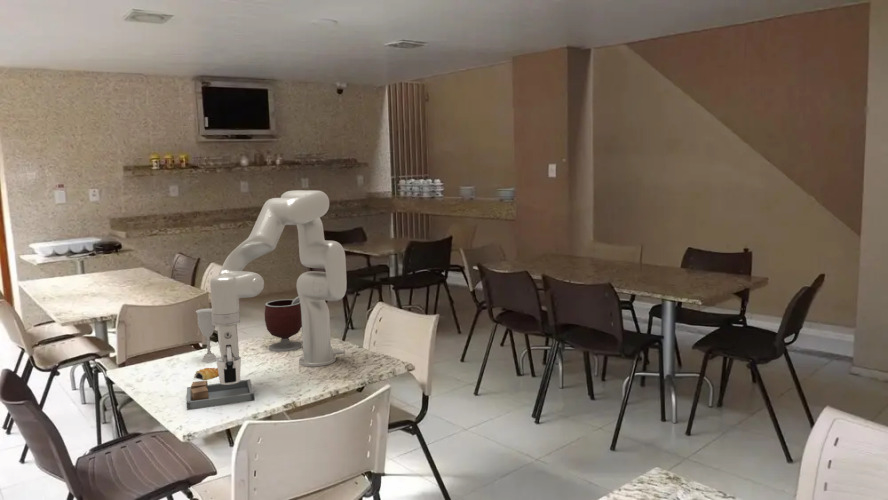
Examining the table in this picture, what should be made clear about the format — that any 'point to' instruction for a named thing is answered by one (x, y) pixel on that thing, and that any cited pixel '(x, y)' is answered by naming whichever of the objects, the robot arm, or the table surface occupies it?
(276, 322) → the mate gourd
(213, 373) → the pastry
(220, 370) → the shot glass
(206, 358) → the chalice
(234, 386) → the tray
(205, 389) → the walnut block
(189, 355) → the table surface
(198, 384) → the walnut block
